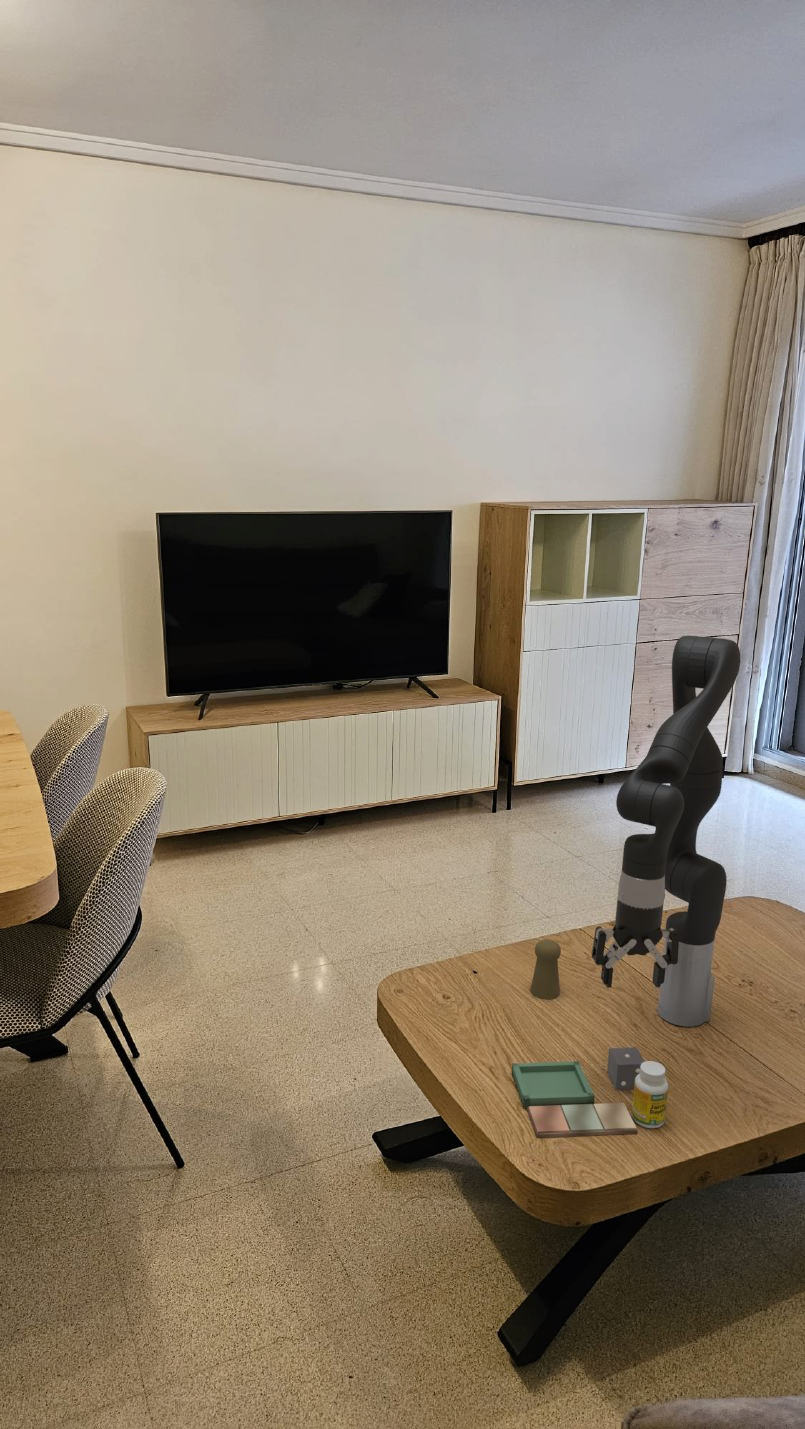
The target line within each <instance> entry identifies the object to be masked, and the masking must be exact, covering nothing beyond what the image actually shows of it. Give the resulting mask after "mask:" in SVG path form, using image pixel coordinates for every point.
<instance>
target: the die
mask: <svg viewBox="0 0 805 1429" xmlns="http://www.w3.org/2000/svg"><path fill="white" fill-rule="evenodd" d="M607 1057H608V1058H607V1069H606V1073H607V1076H608V1078H609V1080H610V1081H611V1084H612V1086H613V1087H614V1090H615V1091H626V1090H627V1091H628V1090H630V1091H631V1090H633V1091H634V1084H635V1078H636V1076H637V1075H638V1074H640V1066H641V1064H642V1063H643V1062H646V1061H645V1059H644V1057H643V1056H642V1053H641V1052H640V1051H639V1049H638V1047H636V1046H634V1047H610V1048H608V1056H607Z"/></svg>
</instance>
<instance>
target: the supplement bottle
mask: <svg viewBox="0 0 805 1429" xmlns="http://www.w3.org/2000/svg"><path fill="white" fill-rule="evenodd" d="M668 1094H669V1083H668V1080H667V1079H666V1067H665V1066H664V1065H663V1064H661V1063H660V1062H658V1061H657V1062H656V1061H651V1060H648V1061H645V1062H643V1063H642V1064H641V1066H640V1074H638V1075H637V1076H636V1078H635V1084H634V1089H633V1098H632V1108H631V1109H632V1110H631V1111H632V1112H631V1115H632V1116H631V1118H632V1120H633V1122H634V1123H636V1124H638V1125H639V1126H641V1127H643V1128H645V1129H658V1128H660V1127H662V1126H663V1125H664V1124H665V1120H666V1114H667V1104H668V1103H667V1102H668Z"/></svg>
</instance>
